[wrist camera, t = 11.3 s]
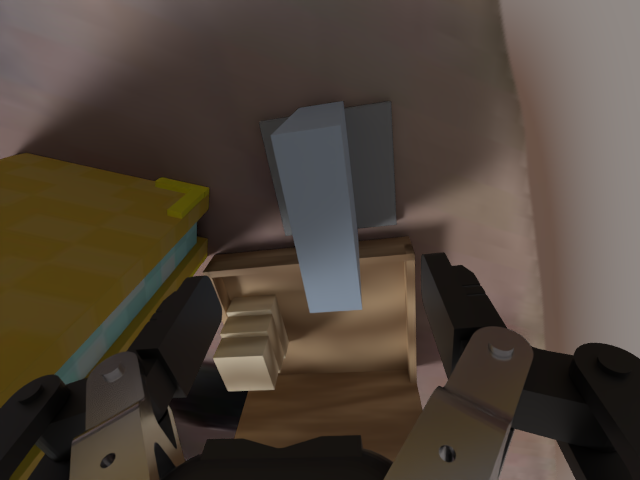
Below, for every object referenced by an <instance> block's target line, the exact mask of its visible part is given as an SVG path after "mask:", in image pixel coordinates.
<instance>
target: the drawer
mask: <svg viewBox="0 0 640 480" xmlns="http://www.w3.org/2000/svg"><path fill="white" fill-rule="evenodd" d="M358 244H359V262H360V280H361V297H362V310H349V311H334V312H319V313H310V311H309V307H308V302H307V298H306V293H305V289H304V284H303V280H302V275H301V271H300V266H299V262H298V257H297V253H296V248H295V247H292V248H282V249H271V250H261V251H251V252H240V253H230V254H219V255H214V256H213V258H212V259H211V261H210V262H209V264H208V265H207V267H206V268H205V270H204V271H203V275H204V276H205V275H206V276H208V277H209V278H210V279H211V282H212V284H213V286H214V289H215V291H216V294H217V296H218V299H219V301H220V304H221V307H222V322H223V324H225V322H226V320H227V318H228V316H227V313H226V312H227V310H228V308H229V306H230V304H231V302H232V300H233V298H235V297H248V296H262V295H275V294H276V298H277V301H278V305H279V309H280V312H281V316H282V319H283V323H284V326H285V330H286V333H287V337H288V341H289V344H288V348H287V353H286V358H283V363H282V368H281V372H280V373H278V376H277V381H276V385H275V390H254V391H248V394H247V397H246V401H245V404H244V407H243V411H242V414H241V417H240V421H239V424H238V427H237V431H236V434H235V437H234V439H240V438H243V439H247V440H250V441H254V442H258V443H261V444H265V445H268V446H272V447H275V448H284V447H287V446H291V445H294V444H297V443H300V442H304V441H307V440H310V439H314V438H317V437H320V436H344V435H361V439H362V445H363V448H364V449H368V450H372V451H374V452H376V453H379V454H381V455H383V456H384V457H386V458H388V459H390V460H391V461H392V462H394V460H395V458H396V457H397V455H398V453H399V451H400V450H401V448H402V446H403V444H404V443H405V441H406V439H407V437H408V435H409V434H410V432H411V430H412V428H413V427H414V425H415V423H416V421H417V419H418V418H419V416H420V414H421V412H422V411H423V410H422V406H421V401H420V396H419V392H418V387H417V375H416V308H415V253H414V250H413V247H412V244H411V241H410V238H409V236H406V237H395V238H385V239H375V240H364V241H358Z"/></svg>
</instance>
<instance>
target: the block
mask: <svg viewBox="0 0 640 480" xmlns="http://www.w3.org/2000/svg"><path fill="white" fill-rule="evenodd" d="M271 140H272V144H273V149H274V153H275V158H276V162H277V167H278V171H279V176H280V180H281V185H282V189H283V194H284V198H285V203H286V207H287V212H288V217H289V221H290V226H291V230H292V235H293V239H294V244H295V248H296V253H297V257H298V262H299V266H300V271H301V275H302V280H303V284H304V289H305V293H306V298H307V302H308V307H309V311H310V313H319V312H334V311H349V310H362V297H361V280H360V262H359V244H358V230H357V221H356V212H355V203H354V194H353V184H352V175H351V166H350V157H349V148H348V139H347V130H346V121H345V111H344V102H343V101H340V102H333V103H327V104H321V105H314V106H308V107H302V108H298V109H297V110H296V111H295V112H294V113H293V114H292V115H291V116H290V117H289V118H288V119H287V120H286V121H285V122H284V123H283V124H282V125H281V126H280V127H279V128H278V129H277V130H276V131H275V132H274V133H273V134H272V135H271Z"/></svg>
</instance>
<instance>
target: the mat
mask: <svg viewBox="0 0 640 480" xmlns="http://www.w3.org/2000/svg"><path fill="white" fill-rule="evenodd" d="M344 111H345V121H346V130H347V139H348V148H349V157H350V166H351V175H352V184H353V194H354V203H355V212H356V221H357V229H358V228H367V227H377V226H387V225H397V223H396V201H395V179H394V156H393V134H392V111H391V101H386V102H379V103H373V104H367V105H360V106H354V107H347V108H344ZM288 118H289V117H284V118H277V119H271V120H265V121H260V122H259V125H260V129H261V133H262V138H263V142H264V146H265V150H266V155H267V159H268V163H269V167H270V172H271V176H272V180H273V184H274V189H275V193H276V197H277V201H278V206H279V210H280V214H281V218H282V223H283V227H284V231H285V235H286V236H289V235H292V230H291V226H290V221H289V217H288V212H287V207H286V203H285V198H284V194H283V189H282V185H281V180H280V176H279V171H278V167H277V162H276V158H275V153H274V149H273V144H272V140H271V135H272V134H273V133H274V132H275V131H276V130H277V129H278V128H279V127H280V126H281V125H282V124H283V123H284V122H285V121H286V120H287V119H288Z"/></svg>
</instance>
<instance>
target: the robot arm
mask: <svg viewBox="0 0 640 480" xmlns="http://www.w3.org/2000/svg"><path fill="white" fill-rule="evenodd" d="M421 293H422V300H423V305H424V308H425V311H426V314H427V317H428V320H429V323H430V326H431V329H432V332H433V335H434V338H435V341H436V344H437V347H438V351H439V354H440V357H441V360H442V363H443V366H444V369H445V372H446V375H447V378H448V381H447V383H446V385H445V386H444V387H441V386H438V387H437V388H436V389H435V390H434V392H433V393H432V395H431V396H430V398H429V400H428V402H427V404H426V405H425V407H424V409H423V411H422V412H421V414H420V416H419V418H418V419H417V421H416V423H415V425H414V427H413V428H412V430H411V432H410V434H409V435H408V437H407V439H406V441H405V443H404V444H403V446H402V448H401V450H400V451H399V453H398V455H397V457H396V458H395V460H394V462H392V461H391V460H390V459H388V458H386V457H384V456H383V455H381V454H379V453H376V452H374V451H372V450H368V449H364V448H363V445H362V439H361V435H344V436H320V437H317V438H314V439H310V440H307V441H304V442H300V443H297V444H294V445H291V446H287V447H284V448H275V447H272V446H268V445H265V444H261V443H258V442H254V441H250V440H247V439H243V438H240V439H207V441H206V444H205V447H204V450H203V453H202V454H200V455H197V456H195V457H193V458H190V459H189V460H187V461H185V458H184V455H183V452H182V448H181V444H180V440H179V437H178V433H177V429H176V425H175V421H174V417H173V414H172V410H171V408H170V407H169V404H170V402H171V400H172V398H184V397H187V396H188V393H189V391H190V389H191V387H192V385H193V382H194V380H195V378H196V376H197V374H198V371H199V369H200V367H201V365H202V363H203V360H204V358H205V356H206V354H207V351H208V349H209V347H210V345H211V343H212V340H213V338H214V336H215V334H216V332H217V329H218V327H219V325H220V323H221V320H222V307H221V304H220V301H219V299H218V296H217V294H216V291H215V289H214V286H213V284H212V282H211V279H210V278H209V277H208V276H206V275H205V276H195V277H187V278H186V279H185V280H184V281H183V283H182V284H181V285H180V287H179V288H178V290H177V291H174V292H173V293H172V294H171V295H170V296H168V297H167V298H166V299H165V300H163V302H162V303H161V304H160V306H159V307H158V308H157V310H156V313H154V314H153V315H152V317H151V318H150V321H149V322H147V324H146V325H145V326H144V328H143V329H142V330H141V332H140V333H139V335H138V336H137V337H136V339H135V340H134V341H133V343H132V344H131V346H130V347H129V348H128V350H127V351H126V352H120V353H117V354H115V355H112V356H110V357H109V358H107V359H105V360H104V361H102V362H101V363H100V364H99V365H97V366H96V367H95V368H94V369H93V371H92V372H91V373H90V375H89V376H88V377H87V378H84V379H81V380H78V381H75V382H72V383H69V384H66V385H65V383H64V382H63V381H62V380H61V379H60V378H59V376H57V375H54V374H51V375H45V376H42V377H39V378H37V379H35V380H33V381H31V382H29V383H27V384H26V385H24V386H23V387H22V388H20V389H19V390H18V391H17V392H15V393H14V394H13V395H12V396H11V397H10V398H9V399H8V400H7V402H6V403H5V404H4V405H3V406H2V407H1V408H0V480H9V479H10V477H11V475H12V474H13V473H14V471H15V470H16V469H17V467H18V466H19V465H20V463H21V462H22V461H23V459H24V458H25V456H26V455H27V454H28V452H29V451H30V450H31V448H32V447H33V446H34V444H35V445H36V446H37V447H38V448H39V449H41V450H42V451H43V452H44V453H45V455H44V456H43V457H42V459H41V460H40V462H39V463H38V465H37V466H36V467H35V469H34V470H33V472H32V473H31V475H30V476H29V478H28V479H27V480H499V477H500V474H501V471H502V468H503V464H504V461H505V458H506V455H507V452H508V449H509V446H510V443H511V440H512V437H513V434H514V431H515V429H518V430H522V431H525V432H529V433H533V434H536V435H540V436H544V437H547V438H551V439H555V440H556V441H557V442H558V445H559V447H560V449H561V451H562V452H563V455H564V457H565V459H566V461H567V463H568V464H569V467H570V469H571V471H572V473H573V475H574V477H575V479H576V480H640V359H639V358H638V357H636V356H635V355H633V354H631V353H629V352H628V351H626V350H623V349H621V348H618V347H615V346H612V345H608V344H602V343H587V344H583V345H581V346H579V347H578V348H577V349H576V351H575V353H574V356H573V355H568V354H562V353H556V352H551V351H546V350H541V349H538V348H534V347H532V346H531V345H530V344H529V343H528V341H527V340H526V339H525V338H524V337H522V336H521V335H519V334H518V333H516V332H514V331H512V330H509V329H507V327H506V326H505V324H504V322H503V321H502V319H501V317H500V316H499V314H498V312H497V311H496V309H495V308H494V306H493V304H492V303H491V301H490V299H489V298H488V296H487V295H486V294H485V291H484V289H483V288H482V286H480V283H479V281H478V280H477V278H476V276H475V275H474V273H472V272H471V271H470V270H468V269H467V268H465V267H464V266H463V265H457V266H451V264H450V262H449V260H448V258H447V256H446V254H445V253H444V252H443V253H433V254H423V255H422V256H421Z"/></svg>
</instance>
